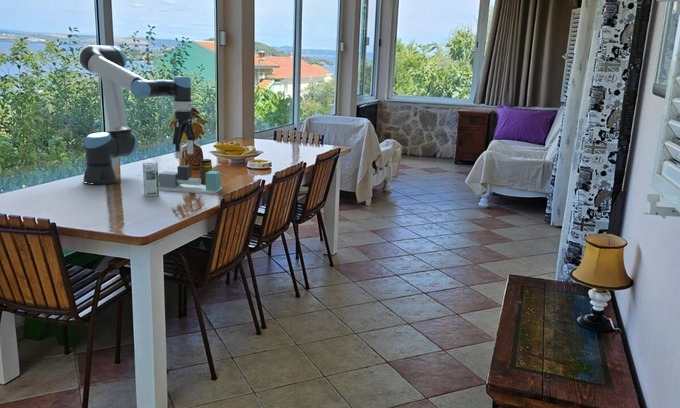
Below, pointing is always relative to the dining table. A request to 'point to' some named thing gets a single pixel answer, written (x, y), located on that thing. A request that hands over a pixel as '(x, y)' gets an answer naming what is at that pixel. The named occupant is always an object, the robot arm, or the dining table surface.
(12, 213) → the dining table surface
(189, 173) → the tube
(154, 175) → the syrup box
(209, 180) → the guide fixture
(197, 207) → the dining table surface
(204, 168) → the condiment
